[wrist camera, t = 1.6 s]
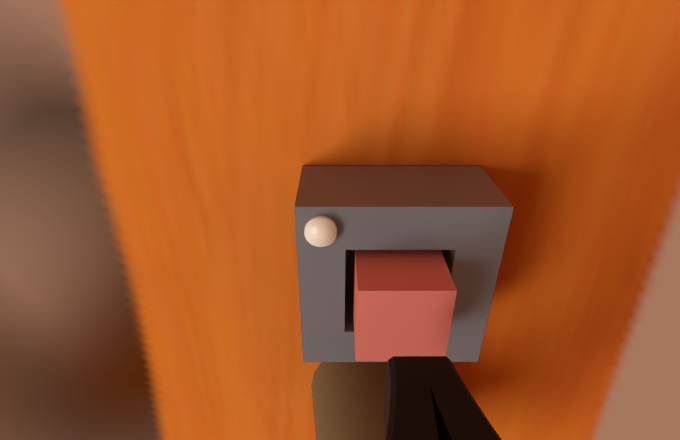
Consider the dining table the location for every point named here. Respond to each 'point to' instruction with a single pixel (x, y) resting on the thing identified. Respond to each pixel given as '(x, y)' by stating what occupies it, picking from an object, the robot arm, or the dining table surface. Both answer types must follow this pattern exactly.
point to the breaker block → (395, 244)
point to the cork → (349, 400)
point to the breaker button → (401, 304)
